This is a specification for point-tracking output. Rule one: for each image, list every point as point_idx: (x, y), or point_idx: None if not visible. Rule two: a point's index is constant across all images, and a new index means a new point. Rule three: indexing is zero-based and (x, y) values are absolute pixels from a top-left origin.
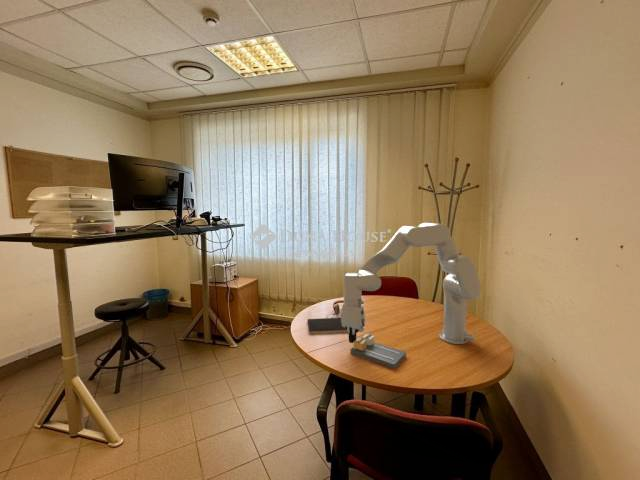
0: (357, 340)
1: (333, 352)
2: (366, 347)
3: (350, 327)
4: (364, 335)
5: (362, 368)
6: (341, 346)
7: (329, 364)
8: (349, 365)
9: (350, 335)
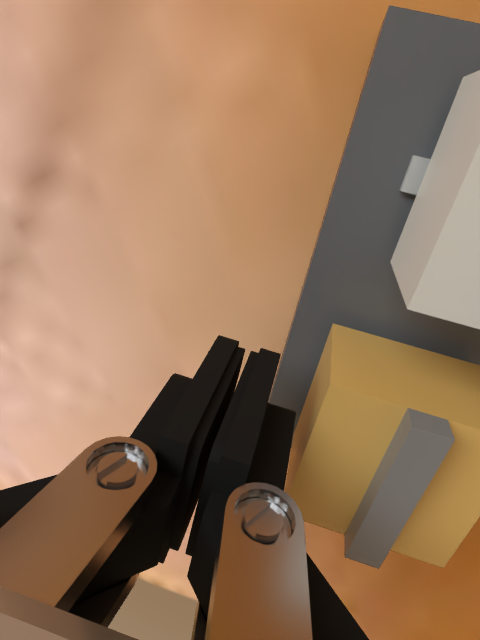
0: (337, 481)
1: (105, 422)
2: (478, 337)
3: (44, 551)
4: (457, 218)
5: (449, 595)
6: (110, 281)
7: (170, 575)
8: (322, 571)
9: (182, 535)
